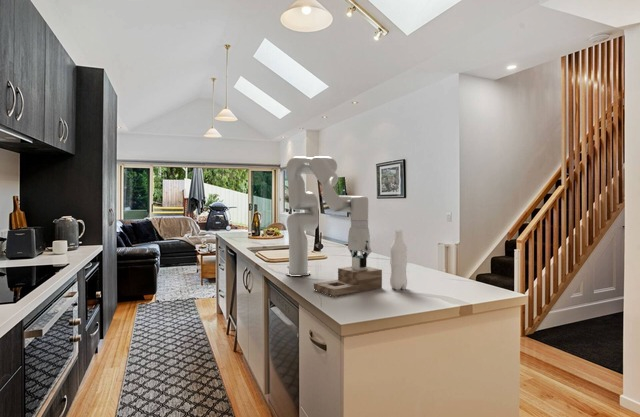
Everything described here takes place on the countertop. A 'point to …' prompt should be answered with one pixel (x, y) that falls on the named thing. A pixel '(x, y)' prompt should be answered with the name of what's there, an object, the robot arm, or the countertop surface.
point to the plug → (358, 263)
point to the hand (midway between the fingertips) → (359, 265)
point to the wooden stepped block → (351, 282)
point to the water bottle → (398, 262)
